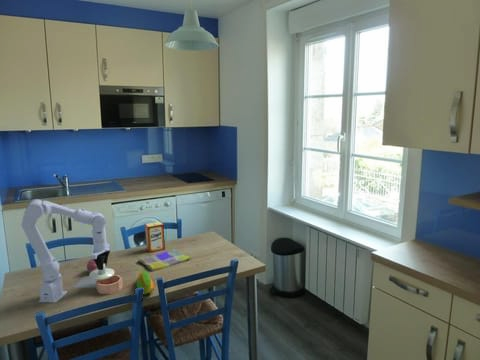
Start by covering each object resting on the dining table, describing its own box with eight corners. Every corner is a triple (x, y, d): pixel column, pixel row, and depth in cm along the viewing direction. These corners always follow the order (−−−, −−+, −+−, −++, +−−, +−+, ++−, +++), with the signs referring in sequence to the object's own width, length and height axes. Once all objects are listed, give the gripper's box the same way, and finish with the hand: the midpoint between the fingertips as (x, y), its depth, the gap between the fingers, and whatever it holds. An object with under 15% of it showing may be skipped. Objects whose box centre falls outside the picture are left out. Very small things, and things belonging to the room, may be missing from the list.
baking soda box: (149, 252, 210) (147, 226, 207) (146, 249, 216) (144, 223, 213) (165, 249, 214) (163, 223, 211) (162, 246, 220) (160, 221, 217)
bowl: (116, 294, 161) (115, 285, 160) (93, 294, 162) (92, 285, 161) (125, 283, 171) (124, 275, 170) (104, 283, 172) (103, 274, 171)
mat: (97, 288, 167) (97, 287, 167) (72, 288, 168) (72, 287, 168) (108, 277, 179) (108, 276, 178) (85, 276, 179) (85, 276, 179)
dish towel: (191, 261, 198) (191, 256, 197) (149, 273, 184) (149, 268, 183) (176, 251, 212) (176, 247, 211) (136, 262, 197) (136, 257, 197)
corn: (138, 283, 155) (133, 265, 173) (138, 299, 156) (132, 280, 174) (156, 280, 158) (148, 264, 176) (155, 297, 159) (148, 278, 177)
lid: (107, 281, 161) (106, 270, 160) (84, 278, 163) (83, 268, 162) (118, 270, 172) (118, 260, 171) (97, 268, 174) (96, 258, 173)
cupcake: (82, 274, 182) (91, 273, 174) (84, 257, 185) (93, 256, 176) (99, 274, 188) (109, 273, 180) (101, 257, 190) (110, 256, 182)
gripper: (101, 245, 157) (104, 274, 159) (114, 234, 171) (117, 261, 174) (85, 245, 158) (88, 274, 160) (100, 234, 172) (102, 261, 174)
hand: (102, 267), depth 167 cm, fingers closed on lid, 3 cm apart
